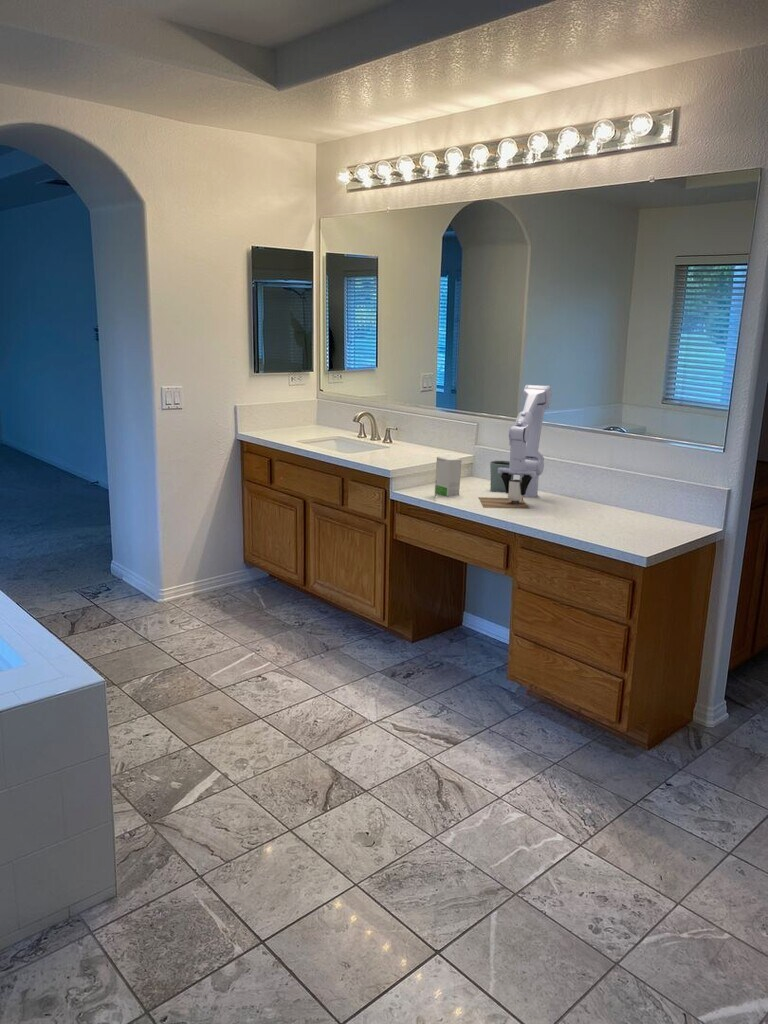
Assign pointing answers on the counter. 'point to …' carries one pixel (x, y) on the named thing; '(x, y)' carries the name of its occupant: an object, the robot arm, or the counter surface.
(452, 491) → the skincare box
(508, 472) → the robot arm
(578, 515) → the counter surface
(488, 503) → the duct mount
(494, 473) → the green plant pot
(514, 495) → the duct sleeve
